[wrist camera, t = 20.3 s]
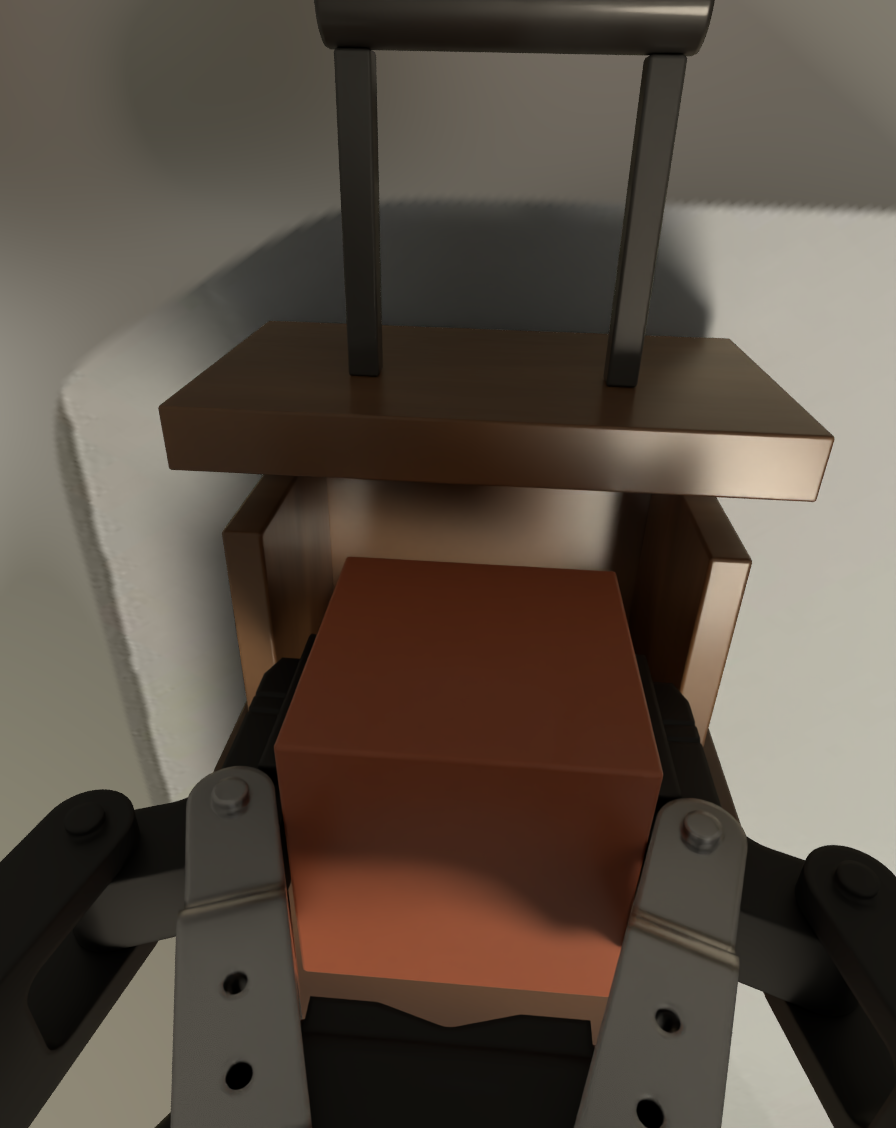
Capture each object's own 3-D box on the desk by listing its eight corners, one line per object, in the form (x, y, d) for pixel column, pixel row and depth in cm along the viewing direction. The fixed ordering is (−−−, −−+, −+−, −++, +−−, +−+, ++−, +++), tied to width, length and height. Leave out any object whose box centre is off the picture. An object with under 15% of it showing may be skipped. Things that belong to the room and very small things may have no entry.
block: (346, 554, 14) (271, 747, 10) (616, 569, 14) (665, 774, 9) (356, 751, 16) (301, 972, 12) (585, 767, 16) (612, 1000, 12)
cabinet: (286, 611, 24) (187, 823, 17) (678, 634, 23) (756, 865, 16) (317, 896, 31) (257, 1131, 24) (616, 920, 31) (649, 1169, 23)
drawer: (235, -16, 15) (63, -110, 9) (802, -8, 15) (998, -103, 9) (307, 725, 25) (247, 903, 20) (643, 748, 25) (685, 938, 19)
